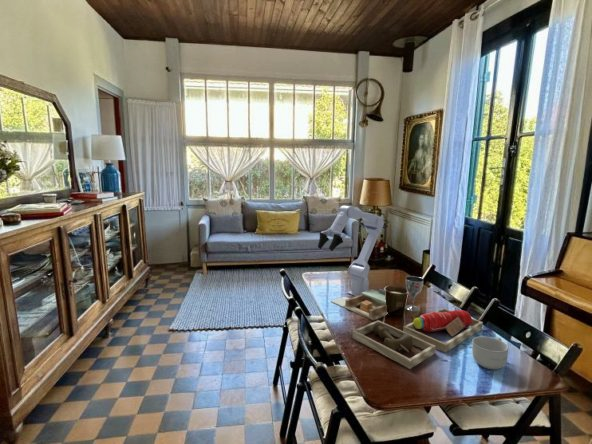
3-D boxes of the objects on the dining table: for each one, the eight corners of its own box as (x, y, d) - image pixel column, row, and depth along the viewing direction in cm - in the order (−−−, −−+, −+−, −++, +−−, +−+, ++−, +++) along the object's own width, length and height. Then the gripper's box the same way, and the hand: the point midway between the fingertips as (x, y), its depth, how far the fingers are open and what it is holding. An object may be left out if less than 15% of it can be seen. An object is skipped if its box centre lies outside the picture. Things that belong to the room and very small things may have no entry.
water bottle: (482, 321, 133) (427, 326, 128) (478, 337, 136) (424, 343, 131) (462, 304, 145) (411, 308, 139) (458, 319, 147) (408, 324, 142)
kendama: (387, 332, 138) (420, 357, 119) (367, 337, 134) (397, 362, 116) (387, 319, 137) (420, 341, 118) (367, 323, 134) (397, 346, 115)
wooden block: (365, 308, 161) (366, 300, 160) (372, 310, 158) (372, 303, 157) (360, 310, 158) (360, 302, 158) (366, 313, 155) (367, 305, 155)
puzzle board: (370, 297, 173) (370, 290, 173) (399, 309, 159) (400, 301, 159) (343, 307, 161) (344, 299, 161) (373, 320, 147) (373, 311, 147)
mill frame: (377, 326, 142) (378, 320, 141) (435, 353, 121) (435, 345, 121) (352, 337, 132) (352, 330, 131) (409, 369, 112) (410, 360, 111)
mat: (344, 297, 174) (344, 296, 174) (356, 302, 167) (356, 301, 167) (330, 301, 168) (330, 300, 167) (342, 307, 161) (342, 306, 161)
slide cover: (372, 290, 172) (372, 285, 171) (397, 300, 160) (398, 294, 159) (361, 294, 166) (361, 289, 166) (387, 304, 154) (387, 298, 154)
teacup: (493, 377, 108) (496, 354, 107) (463, 360, 117) (465, 339, 116) (518, 365, 114) (520, 344, 113) (487, 350, 124) (490, 330, 122)
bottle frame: (441, 314, 155) (442, 307, 154) (482, 328, 141) (483, 322, 140) (402, 333, 136) (403, 326, 135) (445, 352, 122) (445, 345, 121)
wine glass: (403, 310, 159) (405, 280, 156) (404, 304, 166) (406, 275, 164) (420, 313, 156) (423, 282, 153) (421, 306, 163) (423, 277, 161)
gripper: (323, 220, 164) (309, 242, 159) (345, 221, 153) (331, 245, 148) (330, 228, 167) (317, 250, 163) (352, 231, 156) (339, 254, 151)
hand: (324, 248), depth 155 cm, fingers open, 7 cm apart
